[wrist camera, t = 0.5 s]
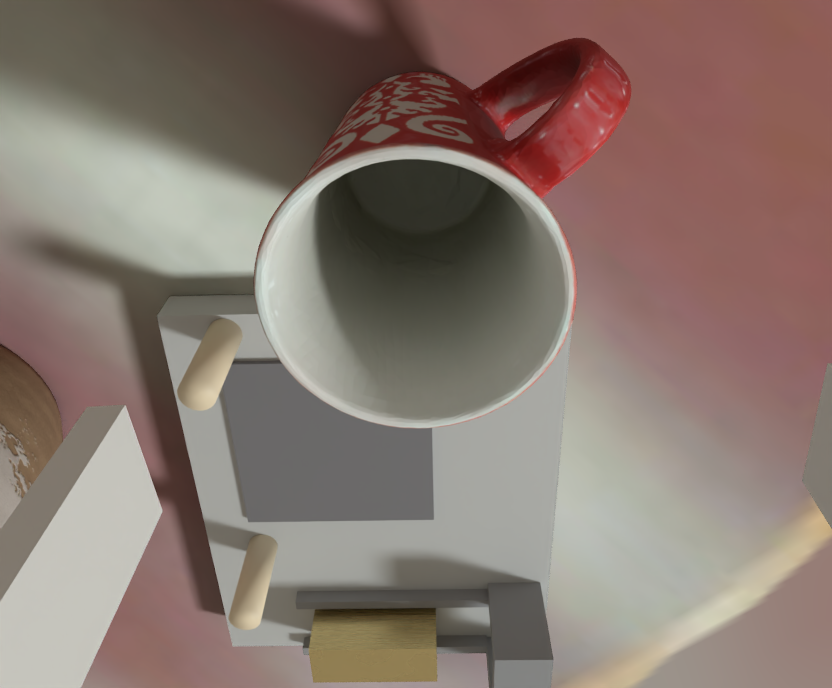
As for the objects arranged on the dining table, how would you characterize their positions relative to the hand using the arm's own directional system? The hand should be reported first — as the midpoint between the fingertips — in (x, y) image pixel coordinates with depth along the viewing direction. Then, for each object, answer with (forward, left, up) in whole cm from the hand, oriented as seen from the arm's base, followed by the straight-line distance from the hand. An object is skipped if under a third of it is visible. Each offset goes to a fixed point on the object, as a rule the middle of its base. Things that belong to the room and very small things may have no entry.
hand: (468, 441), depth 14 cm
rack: (-4, -19, -21) cm, 28 cm away
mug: (0, 0, -21) cm, 21 cm away
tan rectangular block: (-4, -28, -19) cm, 33 cm away
